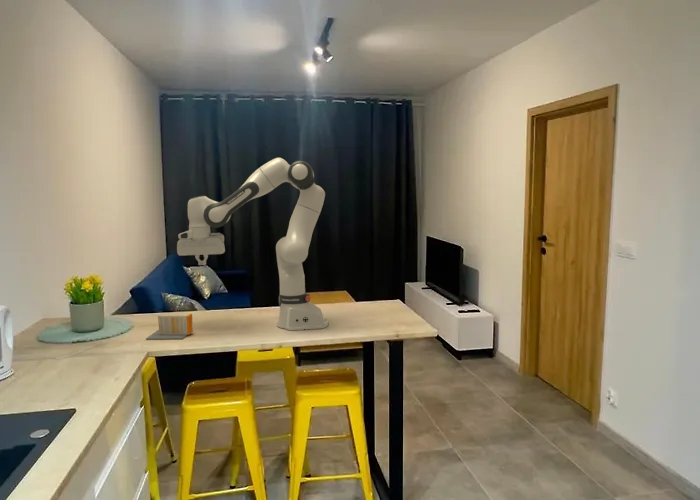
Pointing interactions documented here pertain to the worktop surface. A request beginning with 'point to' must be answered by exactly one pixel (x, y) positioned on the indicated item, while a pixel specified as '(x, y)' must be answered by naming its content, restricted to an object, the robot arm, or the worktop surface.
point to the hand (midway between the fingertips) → (202, 264)
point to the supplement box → (175, 323)
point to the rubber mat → (165, 337)
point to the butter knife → (68, 355)
